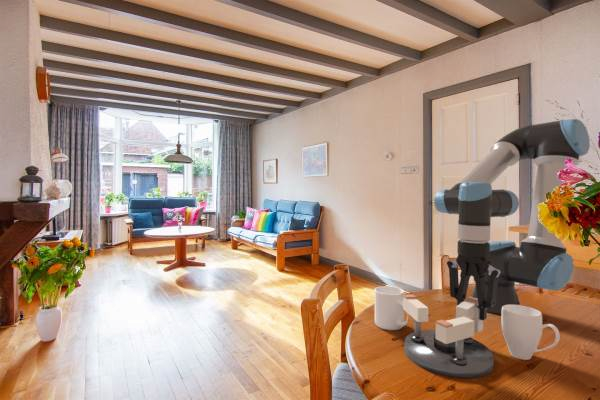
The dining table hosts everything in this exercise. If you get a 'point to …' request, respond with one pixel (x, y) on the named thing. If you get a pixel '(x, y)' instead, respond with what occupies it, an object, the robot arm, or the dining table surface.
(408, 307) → the handle
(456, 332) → the knob
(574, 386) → the dining table surface
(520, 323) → the mug
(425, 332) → the base
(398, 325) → the mug
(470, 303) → the handle
